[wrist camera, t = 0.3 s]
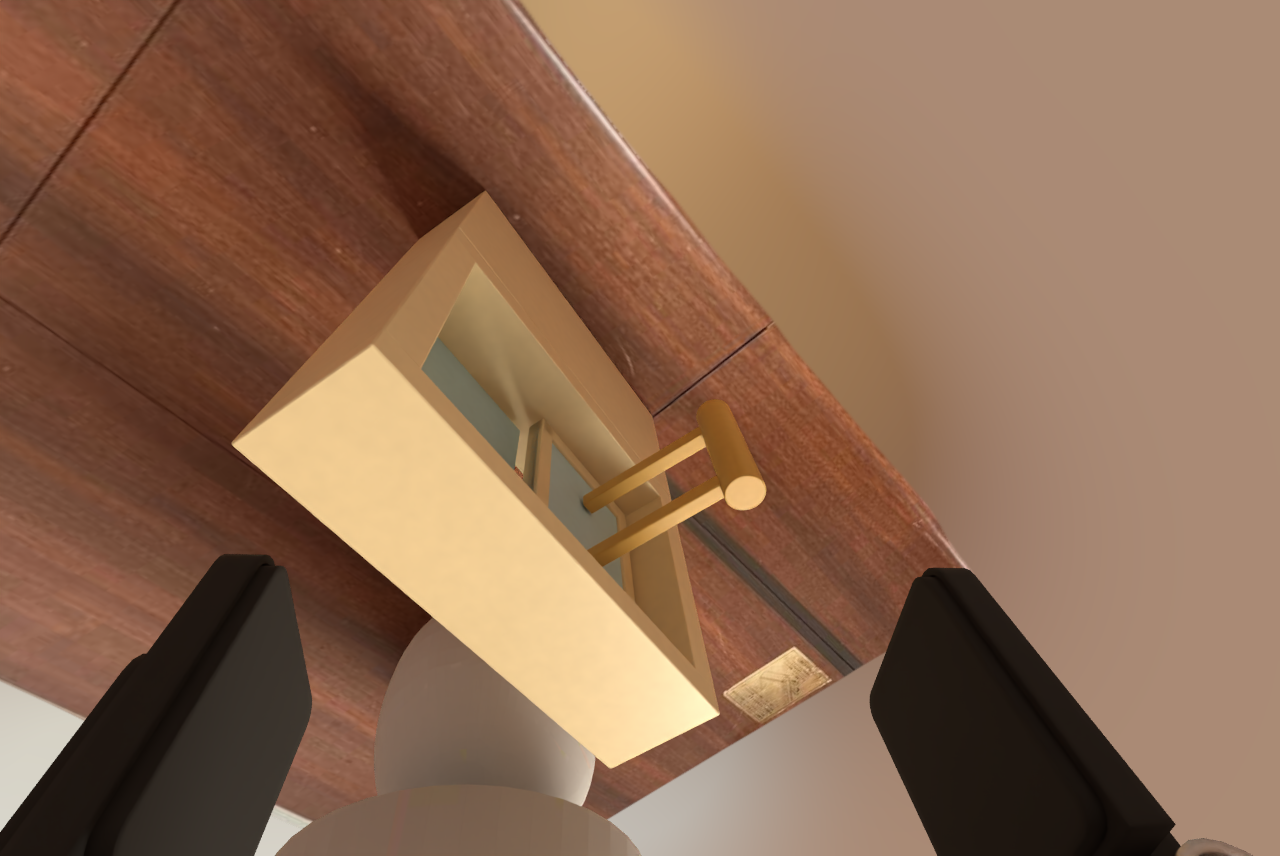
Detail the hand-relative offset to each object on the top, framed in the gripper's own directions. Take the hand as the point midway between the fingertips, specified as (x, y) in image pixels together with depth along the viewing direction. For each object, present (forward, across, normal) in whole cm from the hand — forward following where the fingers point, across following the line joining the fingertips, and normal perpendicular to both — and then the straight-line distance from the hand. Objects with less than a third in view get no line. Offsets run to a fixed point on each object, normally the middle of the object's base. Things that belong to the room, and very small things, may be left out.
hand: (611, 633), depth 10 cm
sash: (+21, -3, +8) cm, 23 cm away
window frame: (+33, +2, +7) cm, 34 cm away
